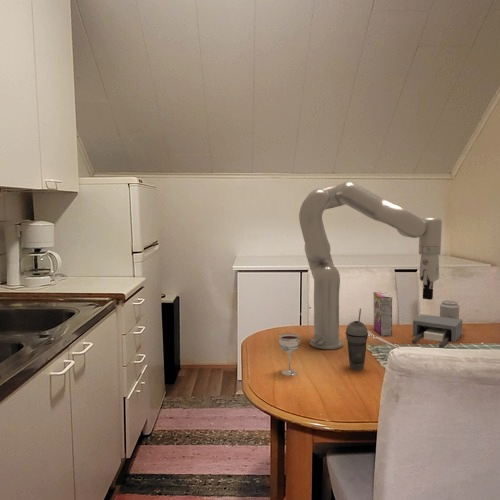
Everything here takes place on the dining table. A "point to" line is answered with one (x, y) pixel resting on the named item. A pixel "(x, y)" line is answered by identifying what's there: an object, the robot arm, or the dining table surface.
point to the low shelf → (438, 322)
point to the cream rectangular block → (436, 334)
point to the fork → (381, 340)
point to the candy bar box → (383, 313)
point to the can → (449, 309)
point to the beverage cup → (356, 343)
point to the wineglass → (289, 348)
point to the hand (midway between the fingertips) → (427, 298)
